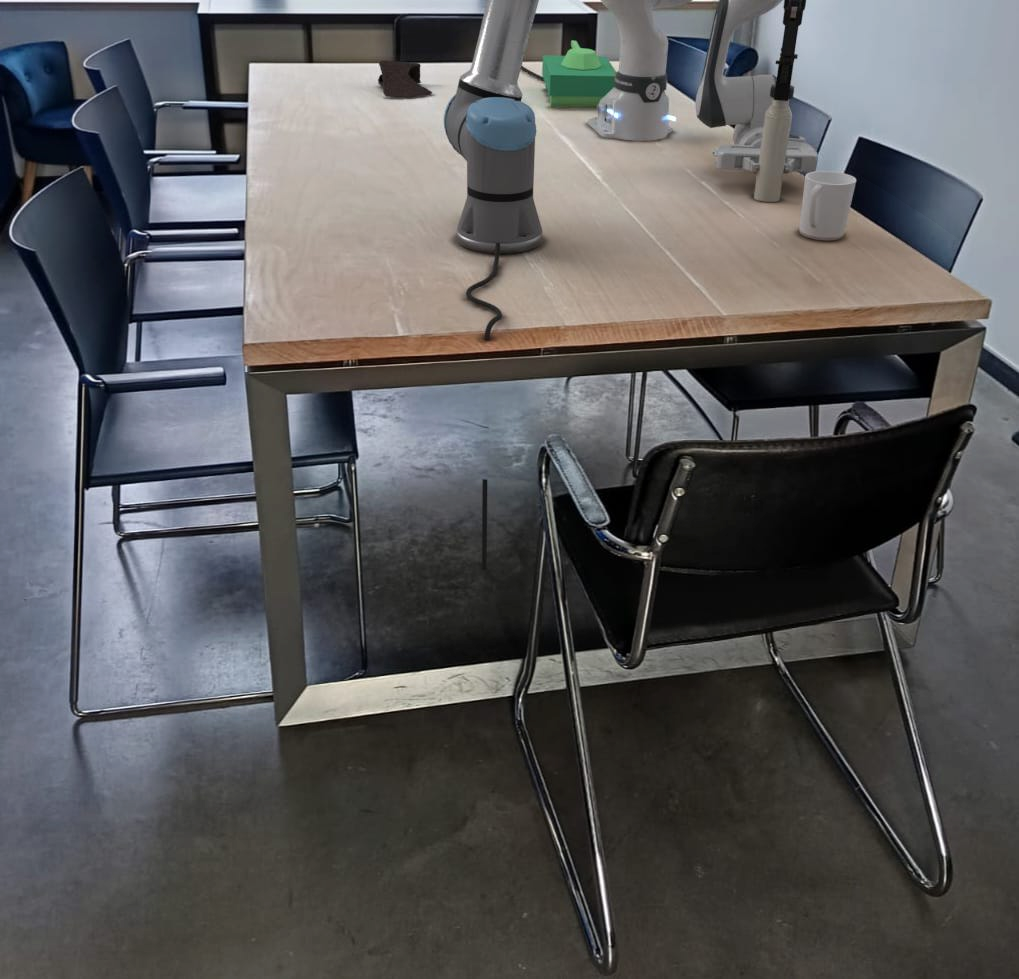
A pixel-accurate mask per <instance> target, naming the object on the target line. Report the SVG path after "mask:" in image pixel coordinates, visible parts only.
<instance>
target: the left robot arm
mask: <svg viewBox="0 0 1019 979" xmlns="http://www.w3.org/2000/svg"><path fill="white" fill-rule="evenodd" d="M539 1H540V0H487V1H486V4H485V8H484V13H483V16H482V20H481V24H480V30H479V34H478V37H477V42H476V46H475V49H474V54H473V58H472V63H471V67H470V69H469V70H467V71H466V72H464V73H462V74H461V75H460V76H459V81H458V84H457V88H456V91H455V94H454V95H453V96H452V97H451V99H450V100H449V101H448V103H447V105H446V107H445V110H444V113H443V127H444V132H445V135H446V138H447V140H448V142H449V144H450V145H451V146H452V148H453V150H454V151H455V152H456V153H457V154H459V155H460V156H461V157H462V158H463V159H464V160H465V161H466V192H467V193H466V198H465V202H464V205H463V209H462V211H461V214H460V218H459V220H458V224H457V227H456V241H457V243H458V244H459V245H461V246H462V247H464V248H466V249H468V250H470V251H475V252H479V253H486V254H494V260H493V267H492V270H491V272H490V274H489V275H488V276H487V277H486V278H484V279H482V280H480V281H478V282H475V283H474V284H472V285H470V286H469V287H468V288H466V291H465V295H466V298H467V299H468V300H469V301H470V302H472V303H474V304H476V305H479V306H481V307H484V308H487V309H489V310H491V311H493V312H494V313H495V316H494V317H493V318H491V319H490V320H489V321H488V322H487V324H486V327H485V330H484V335H483V341H485V342H488V341H490V336H491V332H492V328H493V327H494V325H495V324H496V323H497V322H499V321H500V320H502V317H503V314H502V311H501V309H500V308H499V307H497V306H496V305H494V304H492V303H490V302H488V301H484V300H482V299H479V298H477V297H475V296H474V295H473V294H472V292H474V291H475V290H476V289H478V288H480V287H483V286H484V285H487V284H489V283H491V281H492V280H494V278H495V277H496V275H497V273H498V269H499V263H500V255H506V254H507V255H508V254H517V253H524V252H527V251H530V250H533V249H536V248H538V247H539V246H540V245H541V244H542V243H543V229H542V224H541V221H540V220H541V219H540V218H539V214H538V213H539V212H538V210H537V206H536V204H535V199H534V183H535V181H534V180H535V158H536V156H535V154H536V136H537V124H536V115H535V112H534V110H533V109H532V107H531V106H530V105H528V104H527V103H525V102H523V101H522V100H523V94H524V93H522V91H521V88H520V86H519V83H518V81H519V78H520V73H521V70H522V69H521V66H523V62H524V58H525V55H526V50H527V46H528V43H529V40H530V35H531V31H532V28H533V24H534V20H535V16H536V13H537V9H538V5H539ZM806 4H807V0H783V17H782V24H783V26H784V28H783V29H784V30H783V37H782V43H781V47H780V53H779V60H775V65H778V66H777V74H776V77H777V80H776V87H775V94H774V100H781V101H788V98H789V91H790V85H791V86H792V84H791V83H792V76H793V71H794V64H795V60H798V56H799V54H797V53H796V46H797V39H798V33H799V27H800V26H801V25H802V22H803V16H804V11H805V9H806V6H807V5H806ZM481 485H482V490H481V491H482V494H481V495H482V497H481V498H482V499H481V500H482V501H481V502H482V503H481V510H482V512H481V570H482V571H487V568H488V567H487V563H488V562H487V561H488V557H487V556H488V478H487V479H485V478H482V484H481Z"/></svg>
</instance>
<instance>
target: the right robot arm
mask: <svg viewBox="0 0 1019 979" xmlns="http://www.w3.org/2000/svg"><path fill="white" fill-rule="evenodd" d="M692 1H693V0H600V2H601V3H602V5H603V6H604V7H606V8H607V10H609V12H610V13H611V14H612V16H613V18H614V21H615V23H616V26H617V30H618V35H619V56H618V57H619V58H618V59H619V60H618V70H617V71H616V72H614V73H616V76H614V77H615V81H614V85H613V86H614V88H613V89H612V90H611V91H610V92H608V93H607V94H606V95H605V96H604V97H603V98H602V99H601V100H600V102H599V105H597V107H596V113H597V117H592V118H588V119H587V125H588V126H590V127H591V129H593V130H594V131H595V132H596V133H597V134H598V135H599V136H600V137H601V138H607V139H619V140H625V141H636V142H637V141H638V142H643V141H644V142H645V141H647V142H649V141H658V140H661V139H664V138H667V136H668V134H671V133H672V132H673V127H672V126H669V123H670V121H673V122H676V121H677V117H675V116H673V115H670V98H669V95H667V94H666V91H667V85H668V73H667V72H666V71H667V62H668V51H669V39H668V36H667V35H666V33H665V32H664V31H663V30H662V29H661V28H659V27H657V26H656V25H655V22H654V18H653V10H656V9H657V10H658V9H673V8H676V7H679V6H683V5H686V4H689V3H691V2H692ZM782 2H784V0H718V3H717V6H716V9H715V12H714V18H713V21H712V25H711V30H710V36H709V40H708V45H707V50H706V55H705V61H704V66H703V70H702V75H701V78H700V84H699V86H698V90H697V92H696V96H695V106H694V108H695V114H696V118H697V119H698V120H699V121H700V122H701V123H702V124H704V125H705V127H708V128H710V129H713V128H714V129H715V128H721V127H727V126H735V127H734V129H733V133H732V139H733V140H732V141H733V143H725V144H724V143H723V144H720V145H718V148H714V149H713V150H712V155H713V157H715V158H716V163H715V164H716V168H717V169H718V170H723V171H748V172H750V173H752V174H755V175H757V173H758V171H759V169H758V168H759V163H758V162H759V155H760V148H761V140H762V133H763V126H764V119H765V113H766V111H767V110H768V108H769V107H770V105H771V104H772V101H773V98H772V97H770V90H771V86H772V85H774V84H776V80H777V75H774V74H753V75H752V74H751V75H744V76H743V75H742V76H725V75H724V72H725V67H726V63H727V59H728V58H727V57H728V52H729V47H730V43H731V39H732V37H733V35H734V34H735V32H736V31H737V30H738V29H739V28H740V27H741V26H743V25H744V24H746V23H747V22H751V21H752V20H754V19H756V18H758V17H760V16H763V15H765V14H767V13H769V12H771V11H772V10H773V9H776V7H778V6H779V5H780V4H781V3H782ZM521 70H522V71H523V72H524V73H527V74H529V75H531V76H532V77H534V78H536V79H538V80H541V81H542V82H545V81H544V79H543V76H542V75H539V74H537V73H535V72H534V71H532V70H530V69H527V68H526V67H524V66H523V65H522V66H521ZM669 120H670V121H669ZM818 161H819V154H818V152H817V150H816V149H815V148H814V147H813V146H812V145H810V144H809V143H807V142H806V138H805V137H803V136H799V135H793V134H789V141H788V147H787V154H786V161H785V167H784V174H787V175H789V174H790V175H791V174H792V173H810V172H815V171H817V168H818V167H817V166H818Z"/></svg>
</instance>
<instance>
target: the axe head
mask: <svg viewBox="0 0 1019 979" xmlns="http://www.w3.org/2000/svg"><path fill="white" fill-rule="evenodd" d="M378 66H379V68H380V72H381V74H379V75H378V79H377V84H378V85H379V86H380V87H381V88H382V89H383V95H384V96H385V97H388V98H394V99H395V98H396V99H403V98H405V99H406V98H407V99H411V98H418V97H425V96H429V95H432V94H433V91H431V90H430V89H428V88H427V87H425V86H422V85H421V84H422V82H421V63H419V62H410V61H408V62H407V61H397V60H388V59H387V60H380V61H379V62H378Z"/></svg>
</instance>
